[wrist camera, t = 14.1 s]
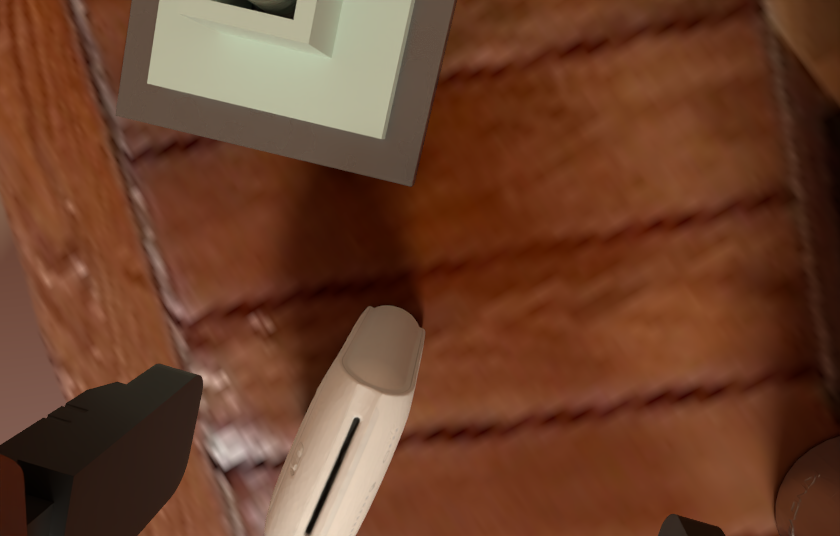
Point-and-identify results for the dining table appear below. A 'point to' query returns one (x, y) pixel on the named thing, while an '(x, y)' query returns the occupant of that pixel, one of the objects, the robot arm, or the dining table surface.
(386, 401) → the photo printer
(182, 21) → the flange plate
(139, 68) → the post fixture
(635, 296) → the dining table surface
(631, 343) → the dining table surface
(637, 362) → the dining table surface
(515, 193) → the dining table surface
